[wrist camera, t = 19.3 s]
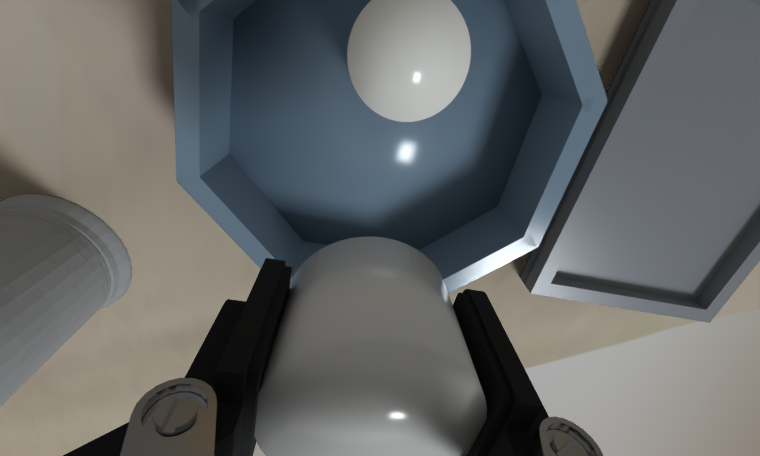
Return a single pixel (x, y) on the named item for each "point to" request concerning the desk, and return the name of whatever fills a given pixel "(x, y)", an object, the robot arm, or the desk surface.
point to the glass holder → (51, 279)
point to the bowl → (379, 132)
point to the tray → (666, 171)
